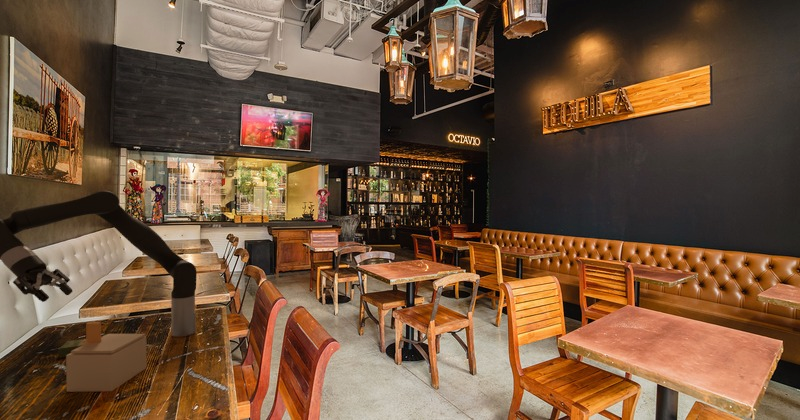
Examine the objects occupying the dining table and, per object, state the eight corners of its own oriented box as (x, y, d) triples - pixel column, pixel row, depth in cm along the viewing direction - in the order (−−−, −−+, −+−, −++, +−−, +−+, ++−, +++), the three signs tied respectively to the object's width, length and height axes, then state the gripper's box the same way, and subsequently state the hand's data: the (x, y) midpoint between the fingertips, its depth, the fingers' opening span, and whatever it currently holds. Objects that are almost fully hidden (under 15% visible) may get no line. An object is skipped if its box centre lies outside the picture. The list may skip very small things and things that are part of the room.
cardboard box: (146, 368, 129) (146, 336, 129) (111, 391, 113) (111, 354, 113) (107, 368, 129) (106, 336, 129) (66, 391, 113) (66, 355, 113)
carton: (110, 351, 144) (109, 341, 144) (58, 358, 137) (57, 347, 137) (116, 344, 152) (116, 334, 151) (67, 350, 145) (67, 340, 145)
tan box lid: (145, 335, 128) (145, 315, 128) (112, 353, 113) (112, 330, 113) (105, 336, 128) (105, 315, 128) (67, 353, 113) (67, 330, 113)
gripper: (8, 257, 113) (46, 294, 113) (51, 251, 127) (84, 284, 127) (-9, 274, 113) (29, 310, 113) (36, 266, 127) (69, 298, 127)
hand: (58, 296), depth 120 cm, fingers open, 8 cm apart
